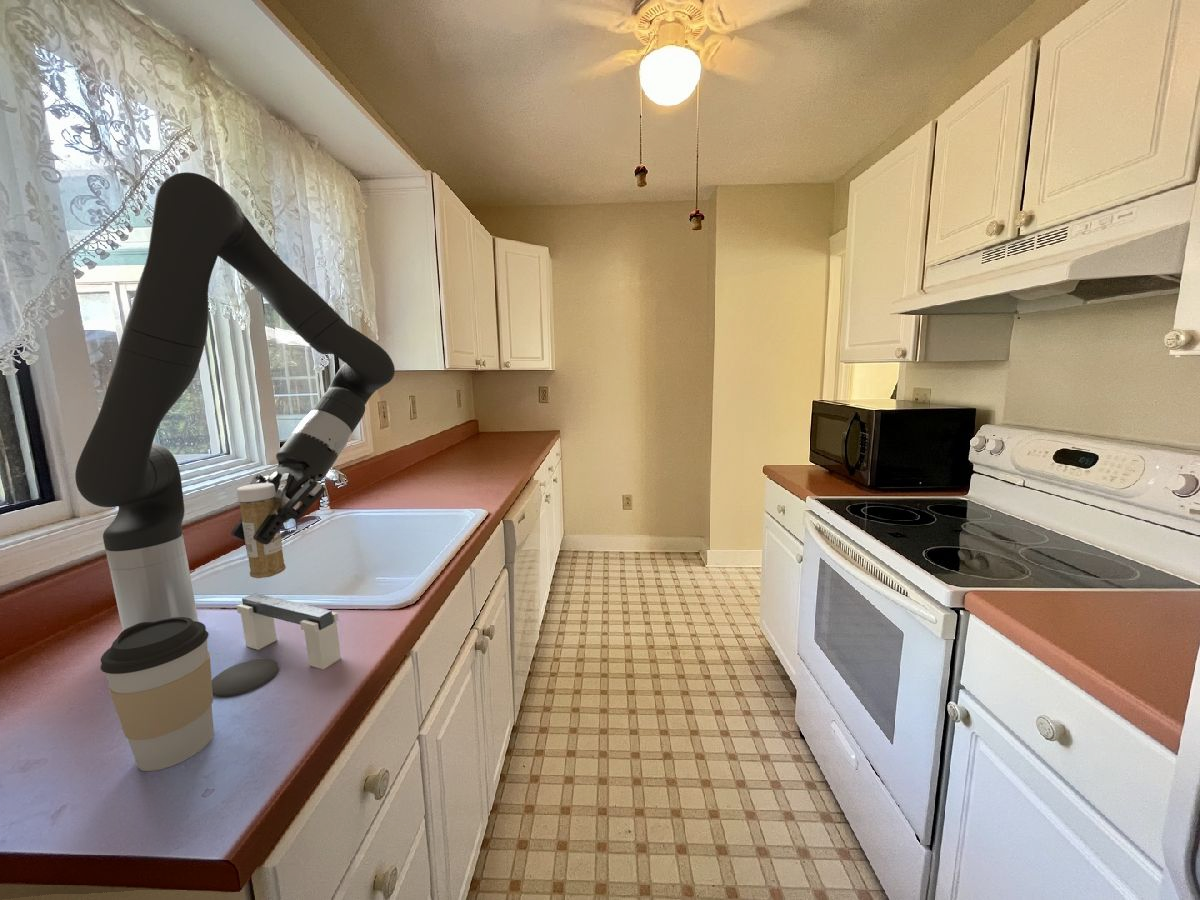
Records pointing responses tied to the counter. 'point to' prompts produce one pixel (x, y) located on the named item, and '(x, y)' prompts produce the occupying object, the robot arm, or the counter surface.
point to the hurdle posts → (318, 642)
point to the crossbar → (288, 610)
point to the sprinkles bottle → (254, 512)
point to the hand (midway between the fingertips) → (249, 539)
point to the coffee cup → (162, 690)
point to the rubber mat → (244, 677)
